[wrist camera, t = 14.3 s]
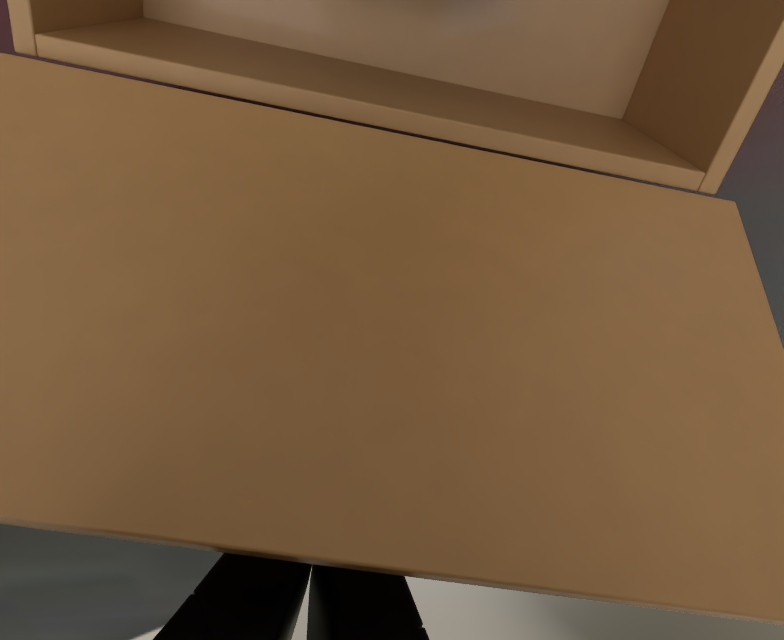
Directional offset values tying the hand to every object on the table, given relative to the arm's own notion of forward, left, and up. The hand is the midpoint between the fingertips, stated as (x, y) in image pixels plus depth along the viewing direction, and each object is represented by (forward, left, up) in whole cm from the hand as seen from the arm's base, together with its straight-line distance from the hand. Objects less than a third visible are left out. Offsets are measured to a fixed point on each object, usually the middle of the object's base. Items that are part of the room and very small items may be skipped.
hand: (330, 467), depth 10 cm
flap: (+3, 0, 0) cm, 3 cm away
